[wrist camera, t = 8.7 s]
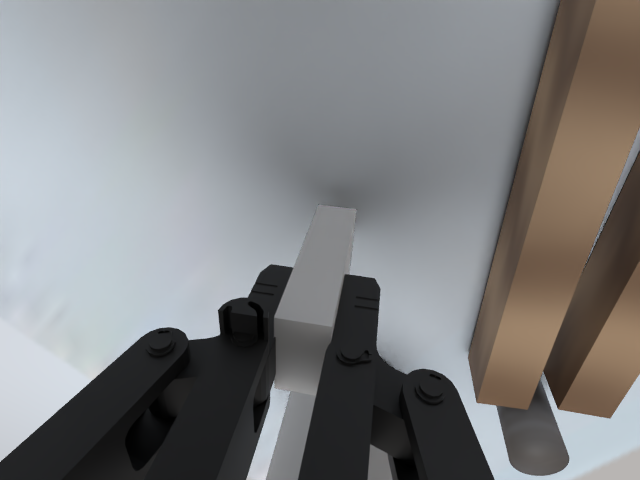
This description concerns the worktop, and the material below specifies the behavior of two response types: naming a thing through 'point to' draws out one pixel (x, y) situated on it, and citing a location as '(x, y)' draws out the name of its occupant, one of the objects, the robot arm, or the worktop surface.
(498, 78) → the worktop surface
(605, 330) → the bar
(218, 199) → the worktop surface
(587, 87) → the bar
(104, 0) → the worktop surface
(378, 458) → the beverage can
